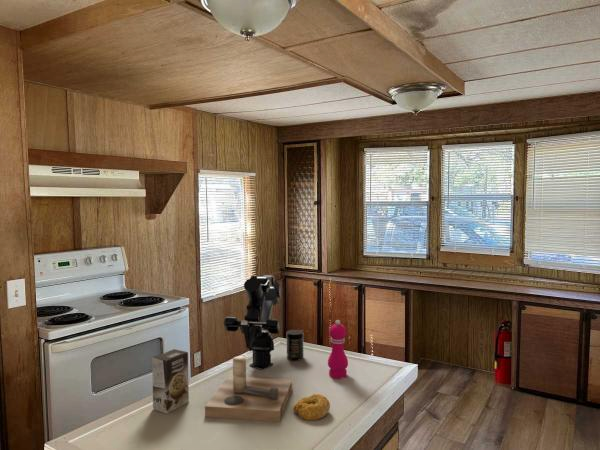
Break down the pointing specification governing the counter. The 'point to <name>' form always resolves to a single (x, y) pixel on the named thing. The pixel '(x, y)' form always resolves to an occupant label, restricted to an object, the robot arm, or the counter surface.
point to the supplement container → (294, 344)
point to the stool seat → (249, 400)
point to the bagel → (312, 407)
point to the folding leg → (240, 380)
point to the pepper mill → (337, 351)
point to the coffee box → (170, 380)
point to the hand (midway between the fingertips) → (247, 348)
